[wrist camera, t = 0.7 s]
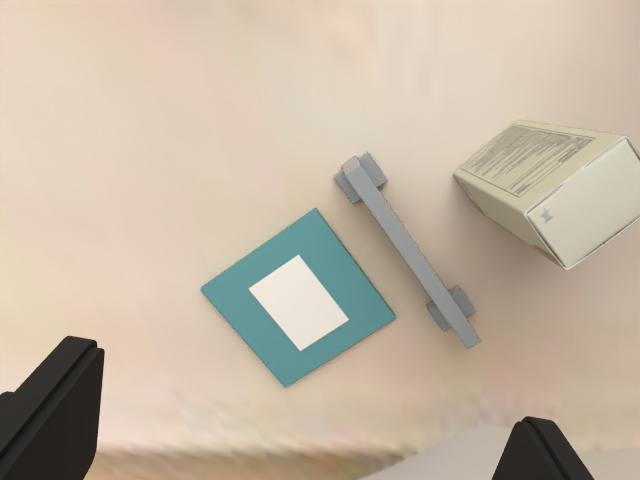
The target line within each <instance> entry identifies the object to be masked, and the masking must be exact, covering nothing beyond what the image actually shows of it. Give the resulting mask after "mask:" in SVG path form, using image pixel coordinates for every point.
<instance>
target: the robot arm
mask: <svg viewBox="0 0 640 480" xmlns="http://www.w3.org/2000/svg"><path fill="white" fill-rule="evenodd" d="M103 366H104V349H102V348H97V342H96V341H95V340H91V339H85V338H80V337H74V336H67V337H65V338H64V339H63V340H62V341H61V342H60V344H59V345H58V346H57V347H56V348H55V349H54V350H53V351H52V352H51V353H50V354H49V355H48V356H47V358H46V359H45V360H44V361H43V362H42V363H41V364H40V365H39V366H38V367H37V368H36V369H35V370H34V371H33V373H32V374H31V375H30V376H29V377H28V378H27V379H26V380H25V381H24V382H23V383H22V384H21V385H20V387H19V388H18V389H17V390H16V391H15V392H8V391H7V392H4V393H2V394H1V395H0V480H83V479H84V477H85V475H86V473H87V472H88V470H89V468H90V466H91V464H92V462H93V459H94V456H95V453H96V448H97V437H98V425H99V413H100V401H101V390H102V378H103ZM492 480H594V478H593V477H592V475H591V474H590V473H589V471H588V470H587V468H586V467H585V465H584V464H583V462H582V461H581V460H580V458H579V457H578V455H577V454H576V452H575V451H574V449H573V448H572V446H571V445H570V444H569V442H568V441H567V439H566V438H565V436H564V435H563V433H562V432H561V431H560V429H559V428H558V426H557V425H556V424H555V423H554V422H553V421H551V420H546V419H541V418H535V417H529V416H528V417H525V418H524V419H523V420H522V421H521V422H520V421H519V422H517V423H516V424H515V425H514V427H513V430H512V432H511V434H510V437H509V439H508V442H507V444H506V446H505V449H504V452H503V454H502V456H501V458H500V461H499V463H498V466H497V468H496V470H495V473H494V475H493V478H492Z"/></svg>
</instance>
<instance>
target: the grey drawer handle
mask: <svg viewBox="0 0 640 480" xmlns="http://www.w3.org/2000/svg"><path fill="white" fill-rule="evenodd" d="M342 168H343V170H341V171H340V172H338V173H337V174H335V175H334V178H335V179H336V181H337V182H338V184H339V185H340V186H341V188H342V189H343V191H344V192H345V193H346V195H347V196H348V198H349V199H350V200H351V202H352V203H353V204H354V203H355V202H357V201H358V200H360V199H361V198H362V200H363V201H364V203H365V204H366V206H367V207H368V208H369V210H370V211H371V213H372V214H373V216H374V217H375V218H376V220H377V221H378V223H379V224H380V226H381V227H382V228H383V230H384V231H385V233H386V234H387V235H388V237H389V238H390V240H391V241H392V243H393V244H394V245H395V247H396V248H397V250H398V251H399V253H400V254H401V255H402V257H403V258H404V260H405V261H406V263H407V264H408V265H409V267H410V268H411V270H412V271H413V273H414V274H415V275H416V277H417V278H418V280H419V281H420V283H421V284H422V285H423V287H424V288H425V290H426V291H427V293H428V294H429V295H430V297H431V298H432V300H433V301H432V302H430V303H429V304H427V305H426V307H427V308H428V310H429V312H430V313H431V314H432V316H433V317H434V319H435V320H436V322H437V323H438V324H439V326H440V327H441V329H442V330H443V331H445V330H447V329H449V328H450V327H452V328H453V330H454V331H455V332H456V334H457V335H458V337H459V338H460V340H461V341H462V342H463V344H464V345H465V347H466V348H467V349H469V348H471V347H472V346H474V345H476V344H477V343H479V342H481V339H480V338H479V336H478V335H477V333H476V332H475V330H474V329H473V327H472V326H471V324H470V323H469V321H468V320H467V317H468V316H470V315H472V314H473V313H475V312H476V311H475V310H474V308H473V307H472V305H471V304H470V302H469V301H468V299H467V298H466V296H465V295H464V293H463V292H462V290H461V289H460V287H459V286H456V287H454V288H453V289H451V290H450V291H448V290H447V289H446V287H445V286H444V284H443V283H442V282H441V280H440V279H439V277H438V276H437V274H436V273H435V271H434V270H433V268H432V267H431V265H430V264H429V263H428V261H427V260H426V258H425V257H424V255H423V254H422V252H421V251H420V249H419V248H418V247H417V245H416V244H415V242H414V241H413V239H412V238H411V236H410V235H409V233H408V232H407V230H406V229H405V228H404V226H403V225H402V223H401V222H400V220H399V219H398V217H397V216H396V214H395V213H394V211H393V210H392V209H391V207H390V206H389V204H388V203H387V201H386V200H385V198H384V197H383V195H382V194H381V193H380V191H379V190H378V188H377V187H379V186H380V185H382V184H383V183H385V182H386V181H387V179H386V178H385V176H384V175H383V173H382V172H381V170H380V169H379V167H378V166H377V164H376V163H375V161H374V160H373V158H372V157H371V155H370V154H369V153H368V152H367V153H365V154H364V155H362V156H361V157H360V158H358V159H357V158H356V156H354V157H353V158H351V159H350V160H348V161H347V162H345V163H344V164H343V165H342Z"/></svg>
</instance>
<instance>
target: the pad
mask: <svg viewBox="0 0 640 480" xmlns="http://www.w3.org/2000/svg"><path fill="white" fill-rule="evenodd" d="M201 291H202V292H203V294H204V295H205V296H206V297H207V298H208V299H209V301H210V302H211V303H212V304H213V305H214V306H215V307H216V309H217V310H218V311H219V312H220V313H221V314H222V315H223V317H224V318H225V319H226V320H227V321H228V322H229V324H230V325H231V326H232V327H233V328H234V329H235V330H236V332H237V333H238V334H239V335H240V336H241V337H242V338H243V340H244V341H245V342H246V343H247V344H248V345H249V347H250V348H251V349H252V350H253V351H254V352H255V353H256V355H257V356H258V357H259V358H260V359H261V360H262V362H263V363H264V364H265V365H266V366H267V367H268V368H269V370H270V371H271V372H272V373H273V374H274V375H275V376H276V378H277V379H278V380H279V381H280V382H281V383H282V385H283V386H284V387H287V386H288V385H290V384H292V383H293V382H295V381H296V380H298V379H300V378H301V377H303V376H304V375H306V374H307V373H309V372H311V371H312V370H314V369H315V368H317V367H319V366H320V365H322V364H323V363H325V362H327V361H328V360H330V359H331V358H333V357H334V356H336V355H338V354H339V353H341V352H342V351H344V350H346V349H347V348H349V347H350V346H352V345H354V344H355V343H357V342H358V341H360V340H362V339H363V338H365V337H366V336H368V335H369V334H371V333H373V332H374V331H376V330H377V329H379V328H381V327H382V326H384V325H385V324H387V323H389V322H390V321H392V320H393V319H395V318H396V317H395V315H394V313H393V312H392V310H391V309H390V308H389V306H388V305H387V304H386V302H385V301H384V300H383V298H382V297H381V296H380V294H379V293H378V292H377V290H376V289H375V287H374V286H373V285H372V283H371V282H370V281H369V279H368V278H367V277H366V275H365V274H364V273H363V271H362V270H361V268H360V267H359V266H358V264H357V263H356V262H355V260H354V259H353V258H352V256H351V255H350V254H349V252H348V251H347V250H346V248H345V247H344V245H343V244H342V243H341V241H340V240H339V239H338V237H337V236H336V235H335V233H334V232H333V231H332V229H331V228H330V226H329V225H328V224H327V222H326V221H325V220H324V218H323V217H322V216H321V214H320V213H319V212H318V210H317V209H316V208H315V209H313V210H312V211H310V212H309V213H307V214H306V215H304V216H303V217H302V218H300V219H299V220H297V221H296V222H294V223H293V224H291V225H290V226H289V227H287V228H286V229H284V230H283V231H281V232H280V233H279V234H277V235H276V236H274V237H273V238H271V239H270V240H268V241H267V242H266V243H264V244H263V245H261V246H260V247H258V248H257V249H256V250H254V251H253V252H251V253H250V254H248V255H247V256H245V257H244V258H243V259H241V260H240V261H238V262H237V263H235V264H234V265H233V266H231V267H230V268H228V269H227V270H225V271H224V272H222V273H221V274H220V275H218V276H217V277H215V278H214V279H212V280H211V281H210V282H208V283H207V284H205V285H204V286H202V288H201Z"/></svg>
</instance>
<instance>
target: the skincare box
mask: <svg viewBox="0 0 640 480" xmlns="http://www.w3.org/2000/svg"><path fill="white" fill-rule="evenodd" d="M453 175H454V176H455V178H456V179H457V181H458V182H459V184H460V185H461V186H462V188H463V189H464V190H465V192H466V193H467V195H468V196H469V197H470V198H471V200H472V201H473V202H474V204H475V205H476V206H477V207H478V208H479V210H480V211H481V212H482V213H483V214H484V215H486V216H487V217H488V218H490V219H491V220H493V221H494V222H496V223H497V224H498V225H500V226H501V227H503V228H504V229H506V230H507V231H509V232H510V233H512V234H513V235H515V236H516V237H517V238H519V239H520V240H522V241H523V242H525V243H526V244H527V245H529V246H530V247H532V248H533V249H535V250H536V251H538V252H539V253H541V254H542V255H544V256H545V257H547V258H548V259H549V260H551V261H552V262H554V263H555V264H557V265H558V266H560V267H561V268H563V269H564V270H569V269H571V268H572V267H573V266H575V265H577V264H578V263H580V262H581V261H582V260H584V259H586V258H587V257H588V256H590V255H591V254H593V253H594V252H595V251H597V250H598V249H600V248H601V247H602V246H604V245H605V244H607V243H608V242H609V241H611V240H612V239H613V238H615V237H616V236H617V235H619V234H620V233H621V232H623V231H624V230H625V229H627V228H628V227H629V226H631V225H632V224H633V223H635V222H636V221H637V220H639V219H640V154H639V152H638V150H637V149H636V147H635V146H634V144H633V142H632V141H631V139H630V138H629V137H628V136H625V135H618V134H611V133H604V132H598V131H591V130H584V129H578V128H571V127H564V126H558V125H551V124H544V123H537V122H531V121H524V120H518V121H516V122H515V123H514V124H513V125H511V126H510V127H509V128H507V129H506V130H505V131H503V132H502V133H501V134H500V135H498V136H497V137H496V138H494V139H493V140H492V141H491V142H489V143H488V144H487V145H486V146H485V147H483V148H482V149H481V150H480V151H478V152H477V153H476V154H475V155H474V156H473V157H471V158H470V159H469V160H468V161H467V162H465V163H464V164H463V165H462V166H461V167H460V168H459V169H457V170H456V171H455V172H454V174H453Z"/></svg>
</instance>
